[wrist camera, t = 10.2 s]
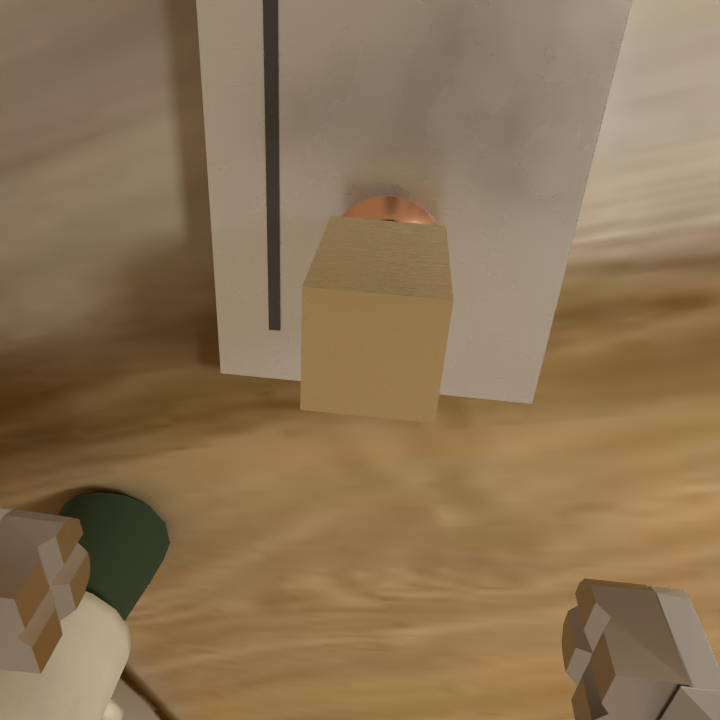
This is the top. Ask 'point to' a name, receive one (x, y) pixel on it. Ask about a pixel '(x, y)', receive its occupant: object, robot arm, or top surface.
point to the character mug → (93, 615)
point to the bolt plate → (403, 160)
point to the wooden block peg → (376, 319)
